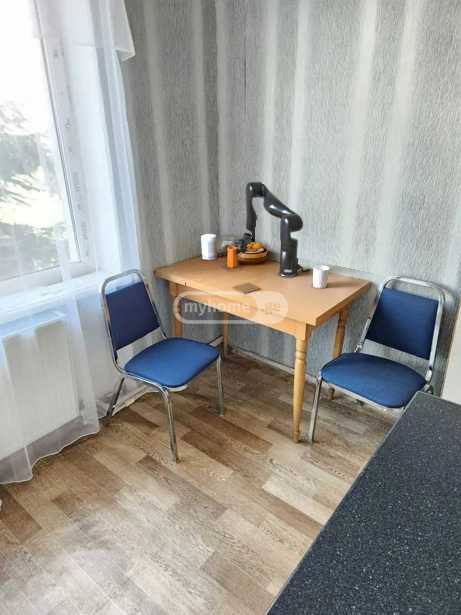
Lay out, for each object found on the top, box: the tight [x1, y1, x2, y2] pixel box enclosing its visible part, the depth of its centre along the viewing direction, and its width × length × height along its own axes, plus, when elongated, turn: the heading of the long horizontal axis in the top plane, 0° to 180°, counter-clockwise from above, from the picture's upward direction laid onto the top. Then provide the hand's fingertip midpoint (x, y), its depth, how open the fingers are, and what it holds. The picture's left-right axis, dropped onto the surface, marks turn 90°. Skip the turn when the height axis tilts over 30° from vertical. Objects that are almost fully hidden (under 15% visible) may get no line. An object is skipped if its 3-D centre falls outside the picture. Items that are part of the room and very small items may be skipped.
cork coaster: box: [232, 282, 261, 294], centre depth 203 cm, size 10×10×1 cm
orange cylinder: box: [226, 246, 239, 268], centre depth 230 cm, size 6×6×11 cm
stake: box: [223, 263, 243, 270], centre depth 231 cm, size 9×9×9 cm
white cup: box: [312, 265, 330, 289], centre depth 203 cm, size 8×8×10 cm
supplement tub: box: [200, 233, 218, 260], centre depth 246 cm, size 10×10×15 cm
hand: (231, 252), depth 226 cm, fingers closed on orange cylinder, 5 cm apart
